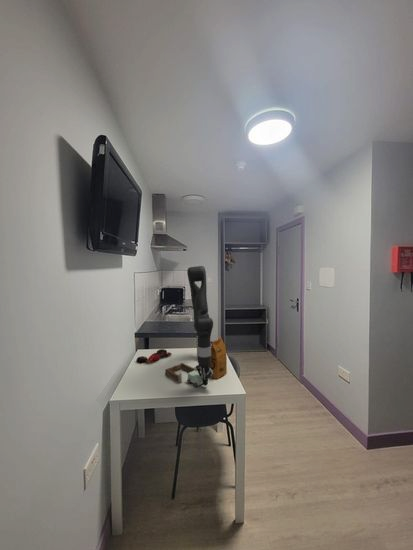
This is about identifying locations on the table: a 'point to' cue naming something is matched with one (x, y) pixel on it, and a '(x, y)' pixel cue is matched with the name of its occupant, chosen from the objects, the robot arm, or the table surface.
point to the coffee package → (218, 358)
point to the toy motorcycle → (153, 357)
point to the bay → (171, 371)
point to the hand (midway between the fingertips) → (205, 384)
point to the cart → (194, 378)
